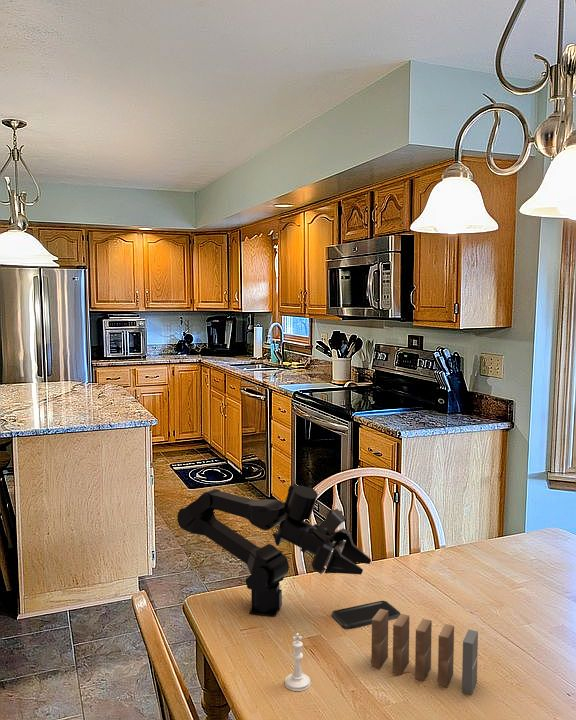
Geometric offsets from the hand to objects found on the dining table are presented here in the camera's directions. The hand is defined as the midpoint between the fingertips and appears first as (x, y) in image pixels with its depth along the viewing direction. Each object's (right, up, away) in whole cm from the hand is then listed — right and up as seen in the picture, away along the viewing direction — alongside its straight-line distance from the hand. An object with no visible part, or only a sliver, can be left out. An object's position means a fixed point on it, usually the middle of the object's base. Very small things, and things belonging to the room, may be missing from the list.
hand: (366, 566), depth 137 cm
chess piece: (-16, -17, -17) cm, 29 cm away
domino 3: (+9, -16, -14) cm, 24 cm away
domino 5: (+17, -17, -19) cm, 30 cm away
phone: (+1, -15, +9) cm, 18 cm away
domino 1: (+1, -16, -10) cm, 19 cm away
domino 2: (+5, -16, -12) cm, 21 cm away
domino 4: (+13, -16, -17) cm, 27 cm away
